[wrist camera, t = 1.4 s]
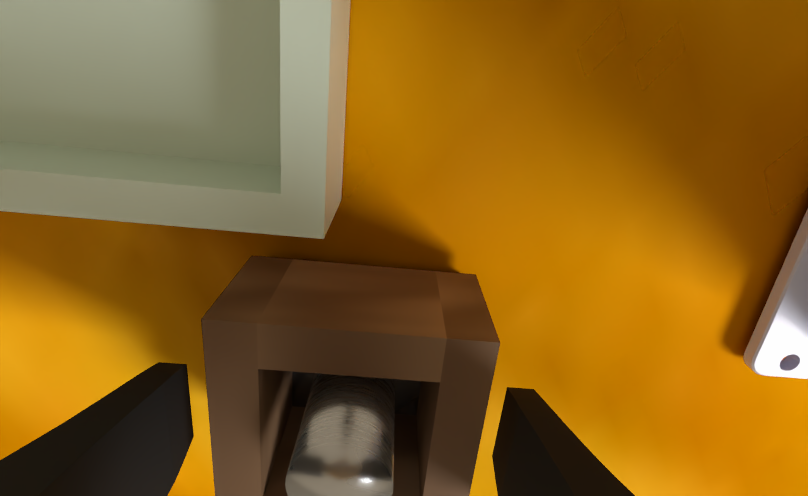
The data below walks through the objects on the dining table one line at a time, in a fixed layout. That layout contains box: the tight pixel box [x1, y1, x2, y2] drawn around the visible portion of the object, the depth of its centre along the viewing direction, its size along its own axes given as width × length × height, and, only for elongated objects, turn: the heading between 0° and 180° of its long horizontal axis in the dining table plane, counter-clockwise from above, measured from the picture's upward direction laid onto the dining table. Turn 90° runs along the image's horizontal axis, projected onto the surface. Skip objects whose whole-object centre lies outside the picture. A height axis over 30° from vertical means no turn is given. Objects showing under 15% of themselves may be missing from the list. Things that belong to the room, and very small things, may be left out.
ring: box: [201, 256, 500, 496], centre depth 11 cm, size 6×6×3 cm
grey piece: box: [285, 371, 421, 496], centre depth 11 cm, size 5×5×4 cm
